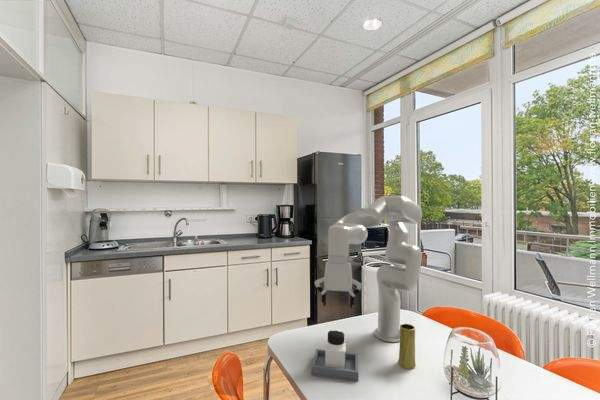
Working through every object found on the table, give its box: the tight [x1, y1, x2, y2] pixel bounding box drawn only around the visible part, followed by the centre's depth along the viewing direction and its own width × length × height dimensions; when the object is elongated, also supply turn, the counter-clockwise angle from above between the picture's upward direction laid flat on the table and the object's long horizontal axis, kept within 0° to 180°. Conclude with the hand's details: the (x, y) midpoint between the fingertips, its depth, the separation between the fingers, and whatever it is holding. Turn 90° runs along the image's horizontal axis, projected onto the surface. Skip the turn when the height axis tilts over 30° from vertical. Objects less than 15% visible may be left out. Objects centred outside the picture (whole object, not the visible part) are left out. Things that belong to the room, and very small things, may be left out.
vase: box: [397, 323, 416, 370], centre depth 108 cm, size 6×6×14 cm
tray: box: [311, 348, 360, 382], centre depth 105 cm, size 16×12×3 cm
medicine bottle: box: [324, 329, 347, 369], centre depth 105 cm, size 7×7×12 cm
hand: (337, 305), depth 106 cm, fingers open, 9 cm apart
